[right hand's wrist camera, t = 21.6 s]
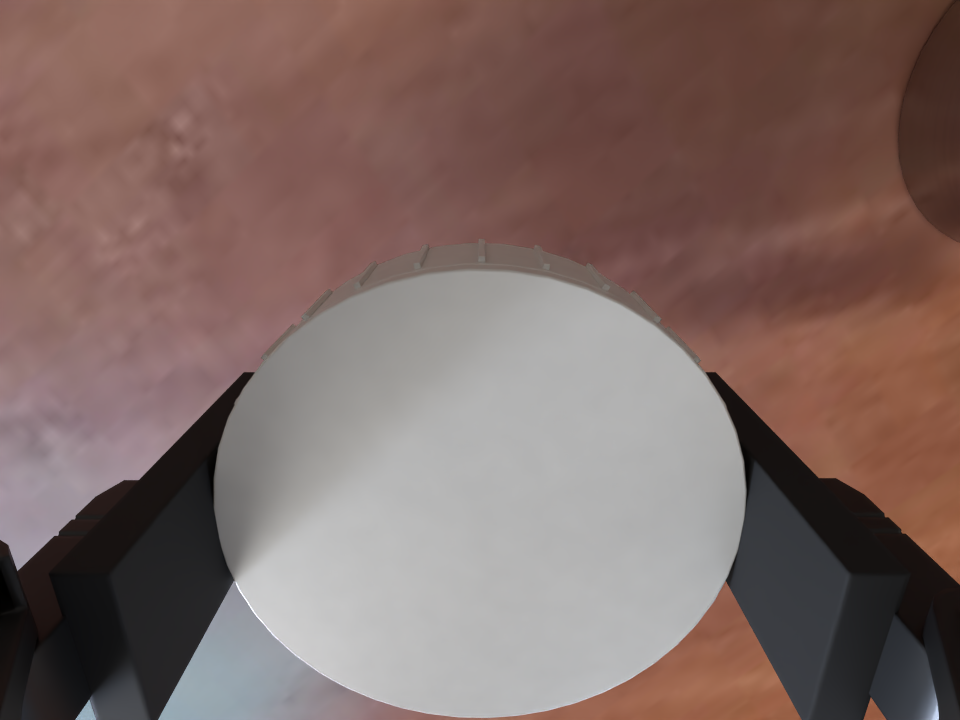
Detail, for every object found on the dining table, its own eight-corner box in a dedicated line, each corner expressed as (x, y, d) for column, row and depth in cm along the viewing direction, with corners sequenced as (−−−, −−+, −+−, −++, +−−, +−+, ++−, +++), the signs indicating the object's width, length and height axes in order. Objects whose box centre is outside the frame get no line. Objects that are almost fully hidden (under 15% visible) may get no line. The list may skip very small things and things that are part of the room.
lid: (278, 184, 10) (228, 198, 8) (778, 299, 11) (847, 338, 9) (236, 595, 14) (193, 678, 12) (625, 662, 14) (649, 752, 12)
